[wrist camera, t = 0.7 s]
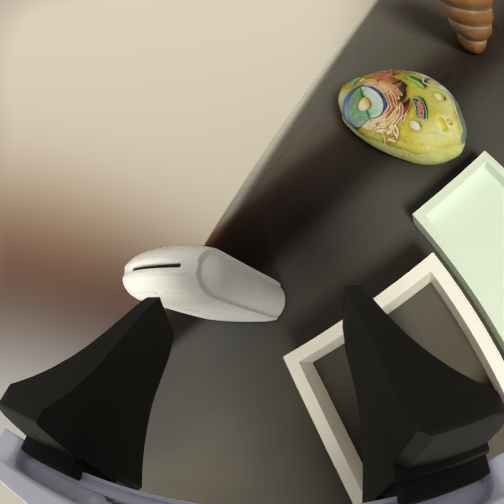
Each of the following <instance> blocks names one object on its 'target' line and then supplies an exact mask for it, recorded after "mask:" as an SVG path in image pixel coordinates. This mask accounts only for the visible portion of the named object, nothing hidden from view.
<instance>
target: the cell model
mask: <svg viewBox="0 0 504 504" xmlns="http://www.w3.org/2000/svg"><path fill="white" fill-rule="evenodd" d="M338 103H339V107H340V110H341V113H342V119H343V121H344V123H345V124H346V125H347V126H348V127H349V128H350V129H351V130H352V131H353V132H354V133H355V134H356V135H357V136H359V137H360V138H361V139H363V140H364V141H366V142H367V143H369V144H370V145H372V146H374V147H375V148H377V149H379V150H381V151H383V152H385V153H387V154H390V155H392V156H395V157H398V158H401V159H404V160H407V161H409V162H413V163H417V164H423V165H435V164H441V163H444V162H447V161H449V160H451V159H454V158H456V157H457V156H458V155H460V154H461V152H462V150H463V148H464V145H465V141H466V136H467V129H466V124H465V121H464V119H463V117H462V114H461V110H460V107H459V105H458V103H457V102H456V100H455V99H454V97H453V96H452V94H451V93H450V92H449V91H448V90H447V89H446V88H445V87H443V86H442V85H441V84H439V83H438V82H437V81H435V80H433V79H432V78H430V77H428V76H426V75H423V74H420V73H417V72H412V71H404V70H383V71H379V72H375V73H372V74H369V75H365V76H362V77H358V78H356V79H353V80H351V81H349V82H348V83H346V84H345V85H344V86H343V87H342V88H341V91H340V93H339V97H338Z"/></svg>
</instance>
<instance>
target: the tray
mask: <svg viewBox="0 0 504 504" xmlns="http://www.w3.org/2000/svg"><path fill="white" fill-rule="evenodd" d="M412 215H413V221H414V224H415V225H416V226H417V228H418V229H419V230H420V231H421V232H422V234H423V235H424V236H425V237H426V238H427V240H428V241H429V242H430V243H431V245H432V246H433V247H434V248H435V250H436V251H437V252H438V254H439V255H440V256H441V257H442V259H443V260H444V261H445V263H446V264H447V265H448V267H449V268H450V269H451V271H452V272H453V274H454V275H455V276H456V278H457V279H458V281H459V282H460V283H461V285H462V286H463V288H464V289H465V291H466V292H467V294H468V295H469V297H470V298H471V300H472V301H473V303H474V304H475V306H476V307H477V309H478V310H479V312H480V313H481V315H482V317H483V318H484V320H485V322H486V323H487V325H488V327H489V328H490V330H491V332H492V333H493V335H494V337H495V338H496V340H497V342H498V344H499V346H500V347H501V349H502V351H503V353H504V168H503V167H502V166H501V165H500V164H499V163H498V162H497V161H495V160H494V159H493V158H492V157H491V156H490V155H489V154H488V153H487V152H485V151H484V152H483V153H482V154H481V155H480V156H479V157H478V158H476V159H475V160H474V161H473V162H472V163H471V164H470V165H469V166H468V167H467V168H466V169H464V170H463V171H462V172H461V173H460V174H459V175H458V176H457V177H455V178H454V179H453V180H452V181H451V182H450V183H449V184H447V185H446V186H445V187H444V188H443V189H442V190H441V191H439V192H438V193H437V194H436V195H435V196H433V197H432V198H431V199H430V200H429V201H428V202H426V203H425V204H424V205H423V206H422V207H420V208H419V209H418V210H417V211H415V212H414V213H413V214H412Z"/></svg>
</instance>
